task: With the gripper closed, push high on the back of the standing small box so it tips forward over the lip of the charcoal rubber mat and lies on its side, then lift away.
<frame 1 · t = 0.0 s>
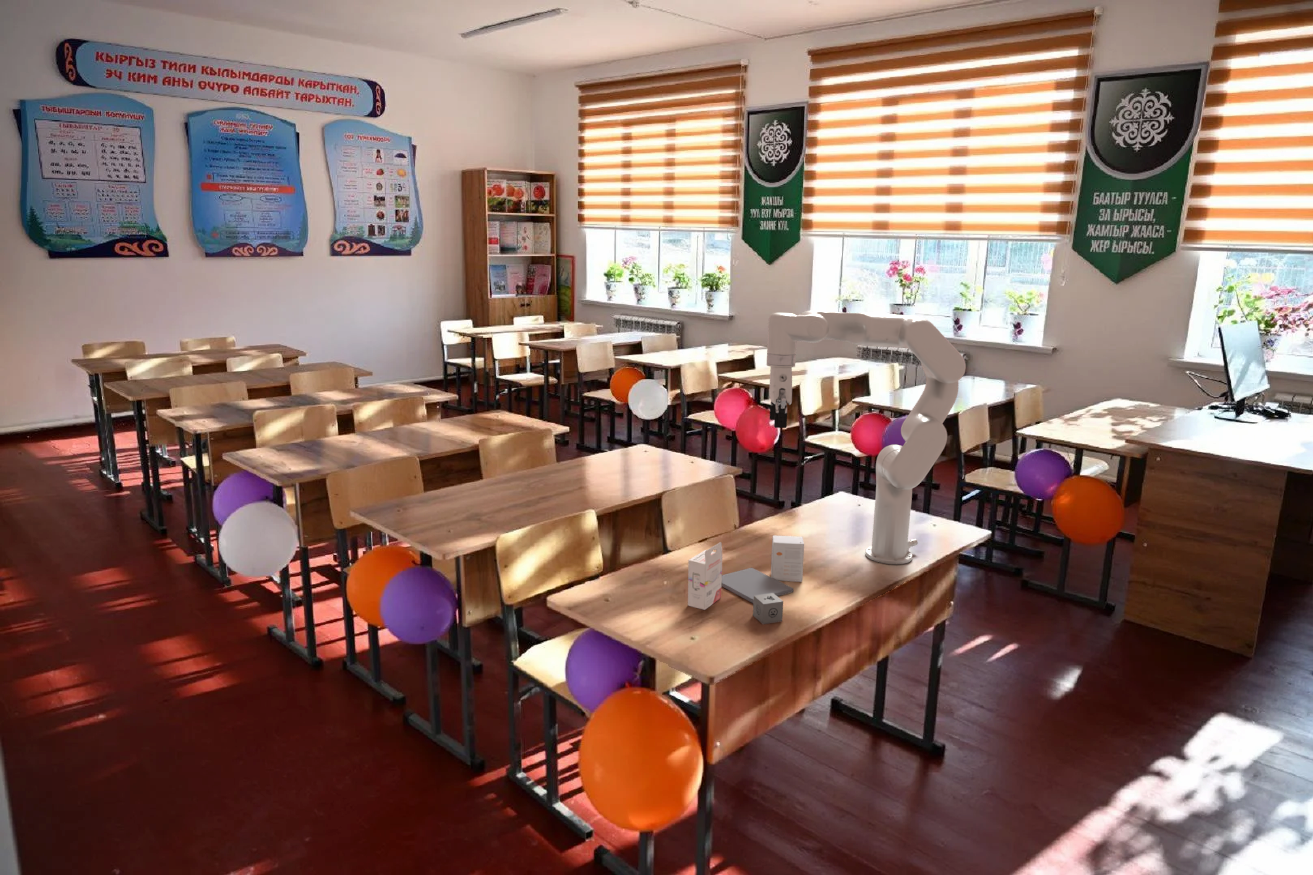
hand: (777, 423, 231), 37 cm above the table, tool pointing down, fingers open, 9 cm apart
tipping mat: (752, 586, 218), on the table
small box: (786, 578, 224), on the table
dice cube: (767, 619, 200), on the table
ink cartridge box: (704, 602, 208), on the table
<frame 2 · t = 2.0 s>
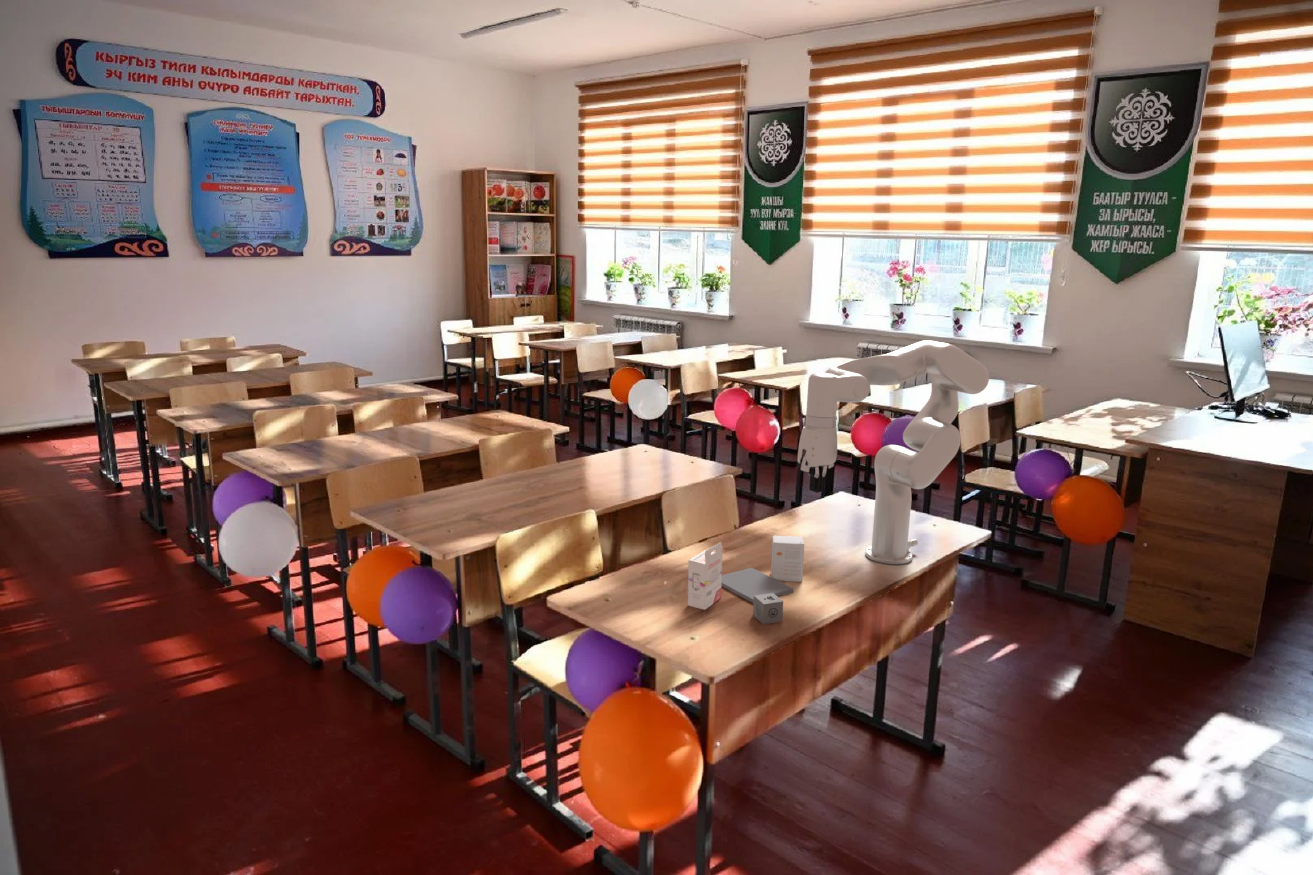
hand: (815, 490, 224), 22 cm above the table, tool pointing down, fingers closed
nothing on the table moved.
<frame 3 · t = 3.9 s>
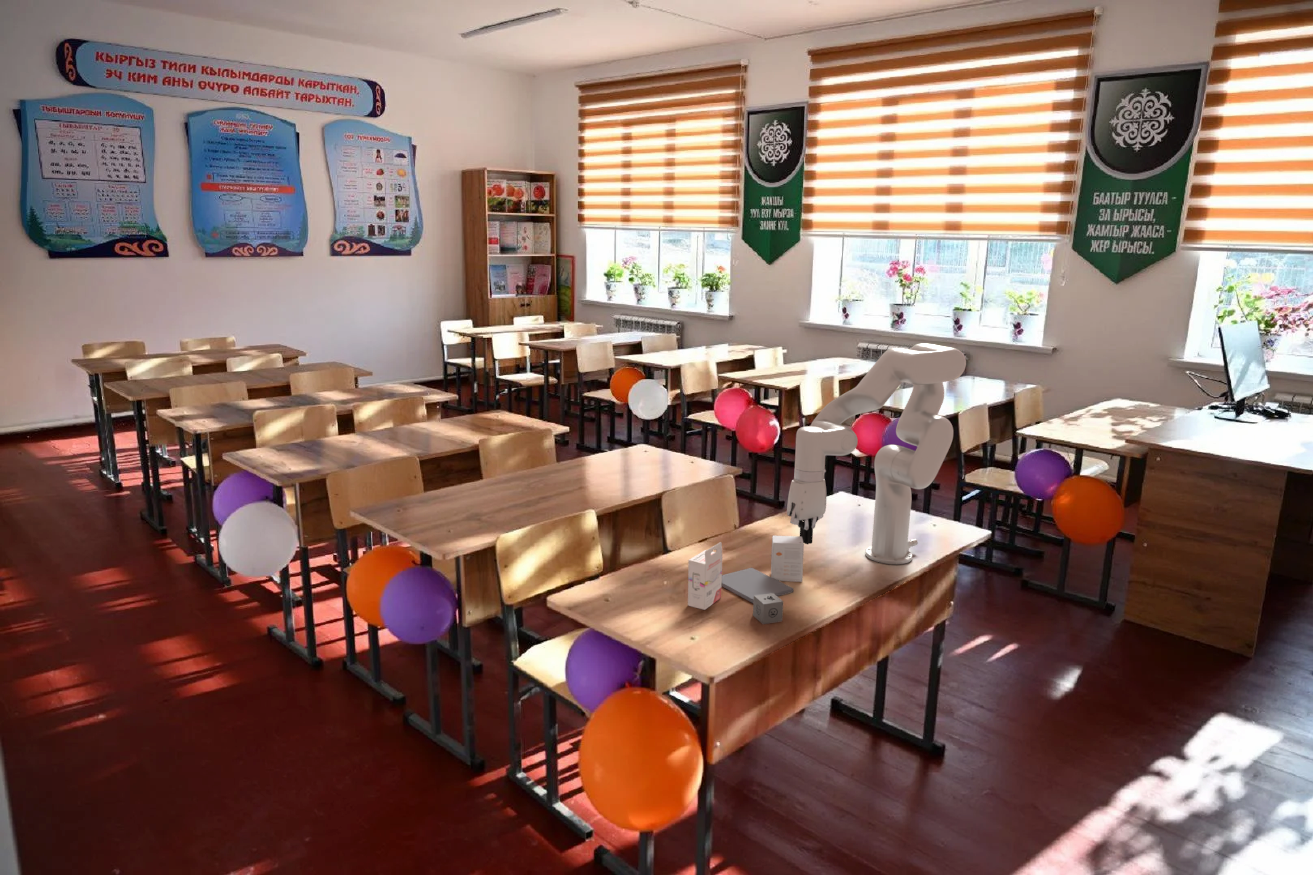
hand: (805, 542, 226), 8 cm above the table, tool pointing down, fingers closed
small box: (786, 578, 224), on the table, touching gripper
everything else where it was.
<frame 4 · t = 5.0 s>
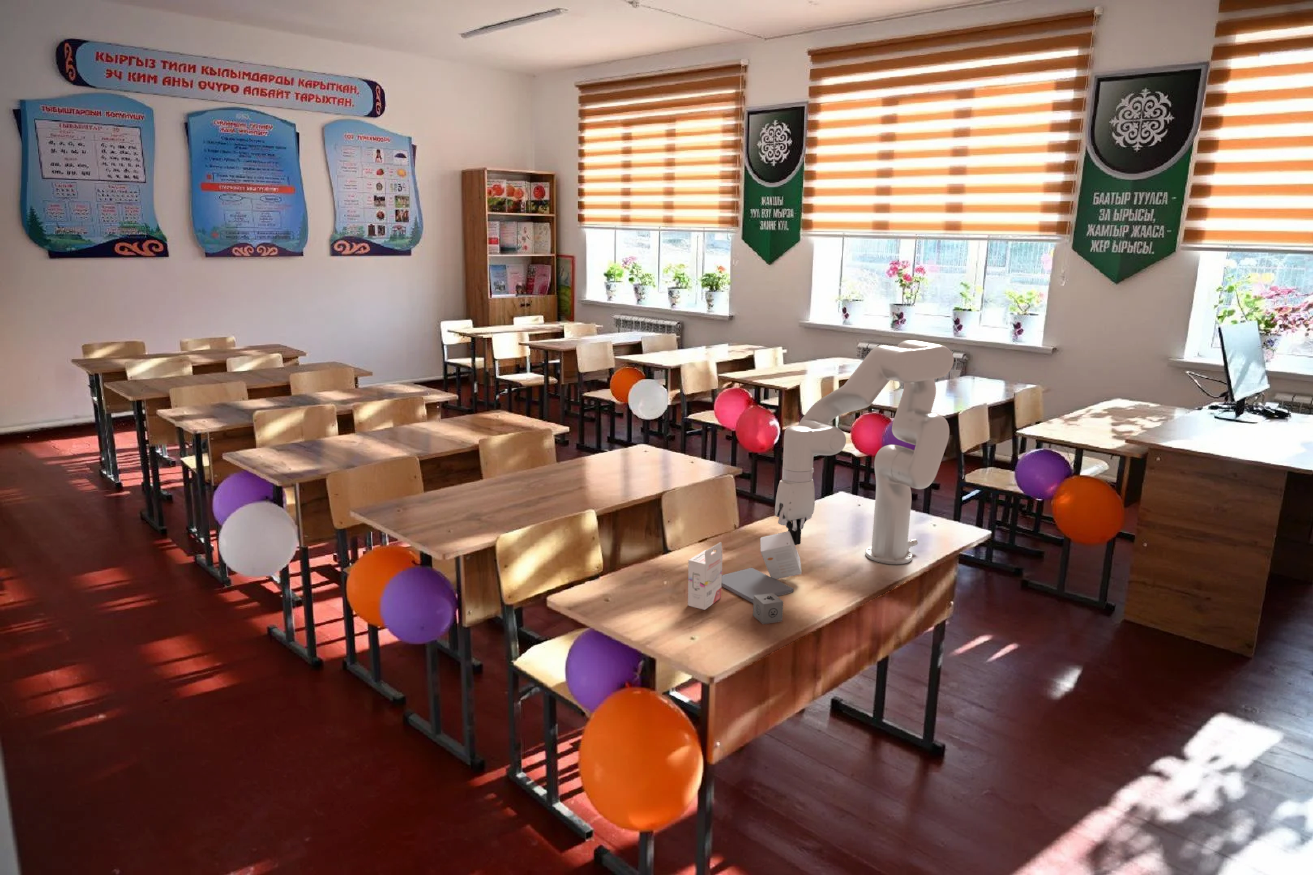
hand: (793, 543, 223), 9 cm above the table, tool pointing down, fingers closed
small box: (786, 570, 223), point 2 cm above the table, touching gripper, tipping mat
everything else where it was.
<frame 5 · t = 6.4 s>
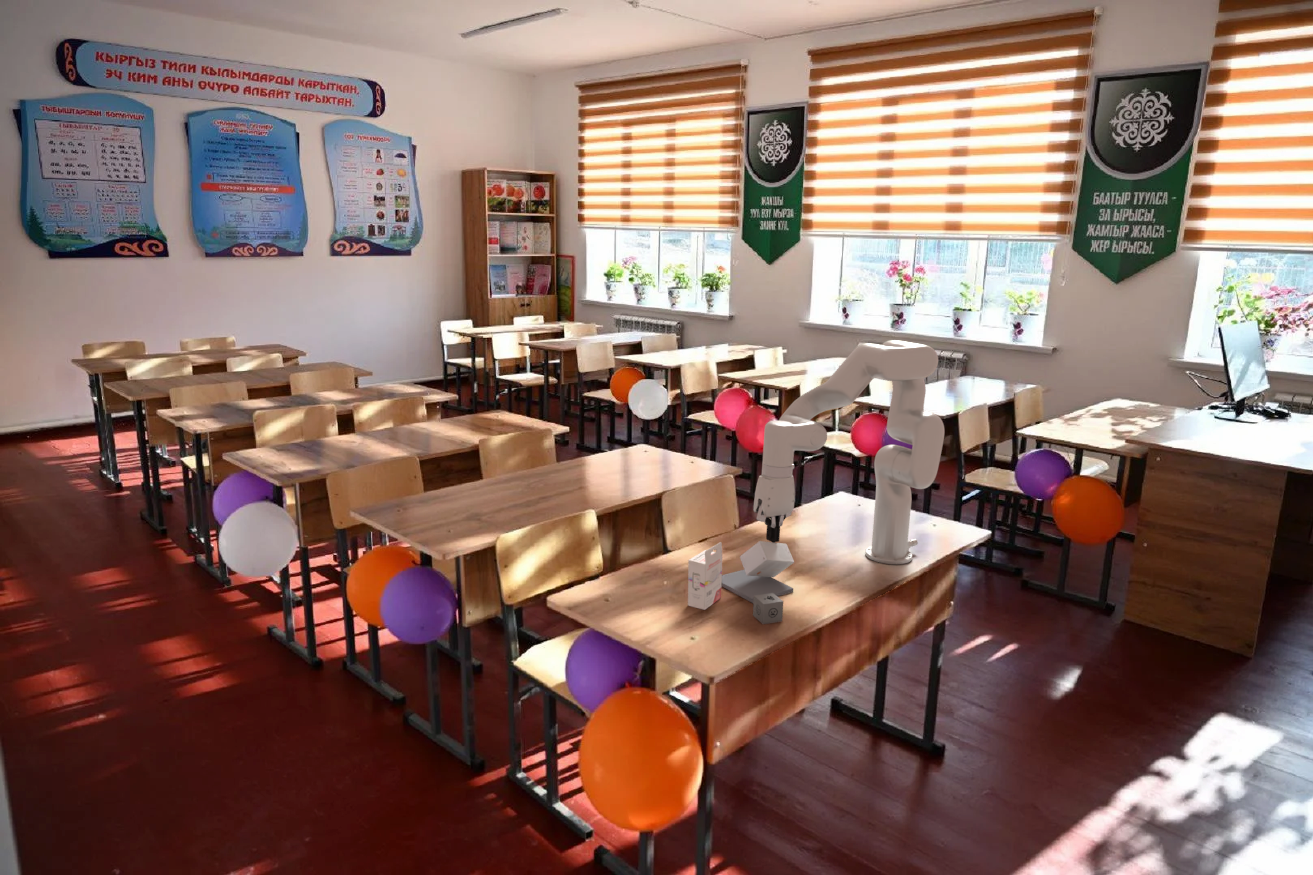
hand: (772, 540, 219), 11 cm above the table, tool pointing down, fingers closed
small box: (781, 560, 222), point 5 cm above the table, touching gripper, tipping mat
everything else where it was.
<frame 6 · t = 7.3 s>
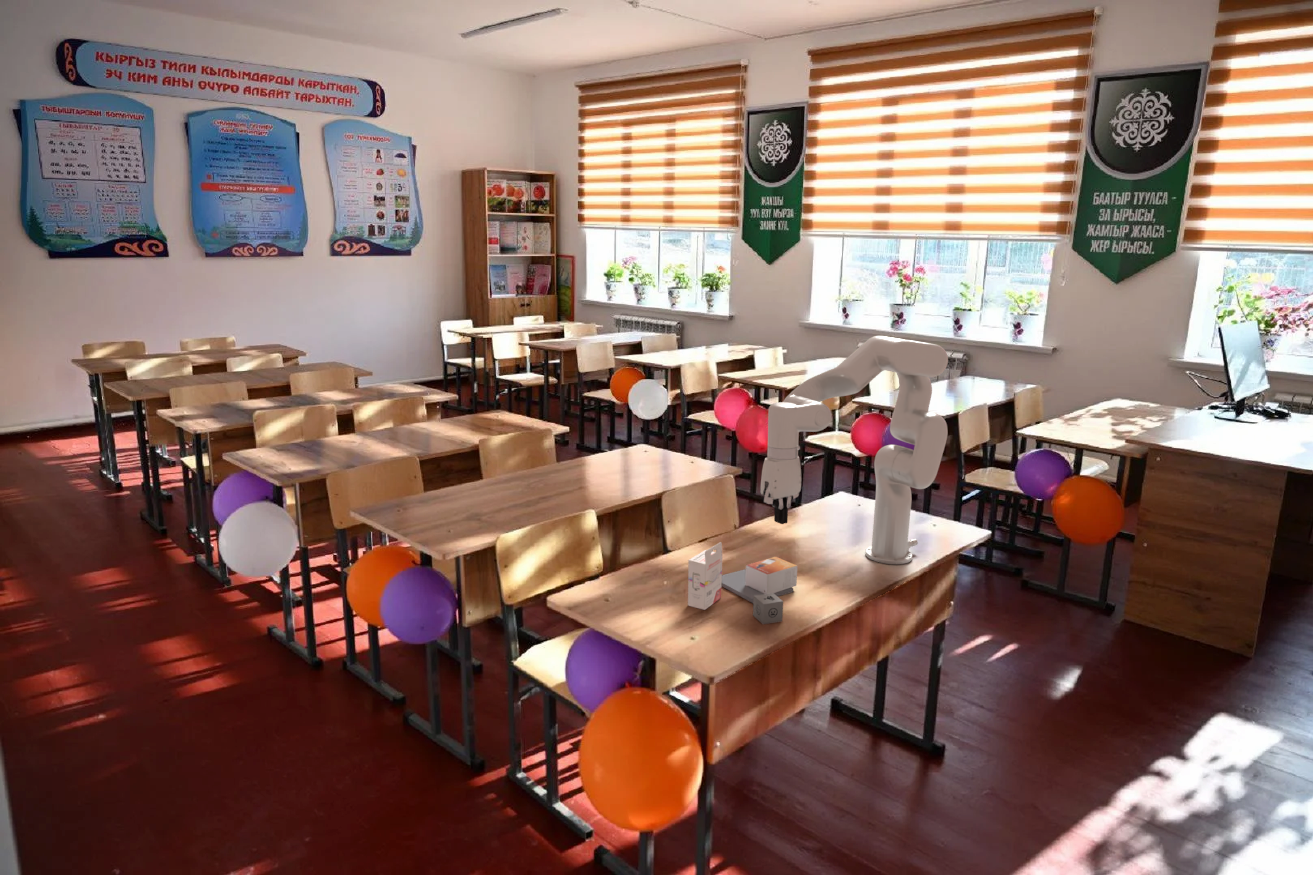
hand: (780, 522, 219), 16 cm above the table, tool pointing down, fingers closed
small box: (786, 570, 219), point 4 cm above the table, touching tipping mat
everything else where it was.
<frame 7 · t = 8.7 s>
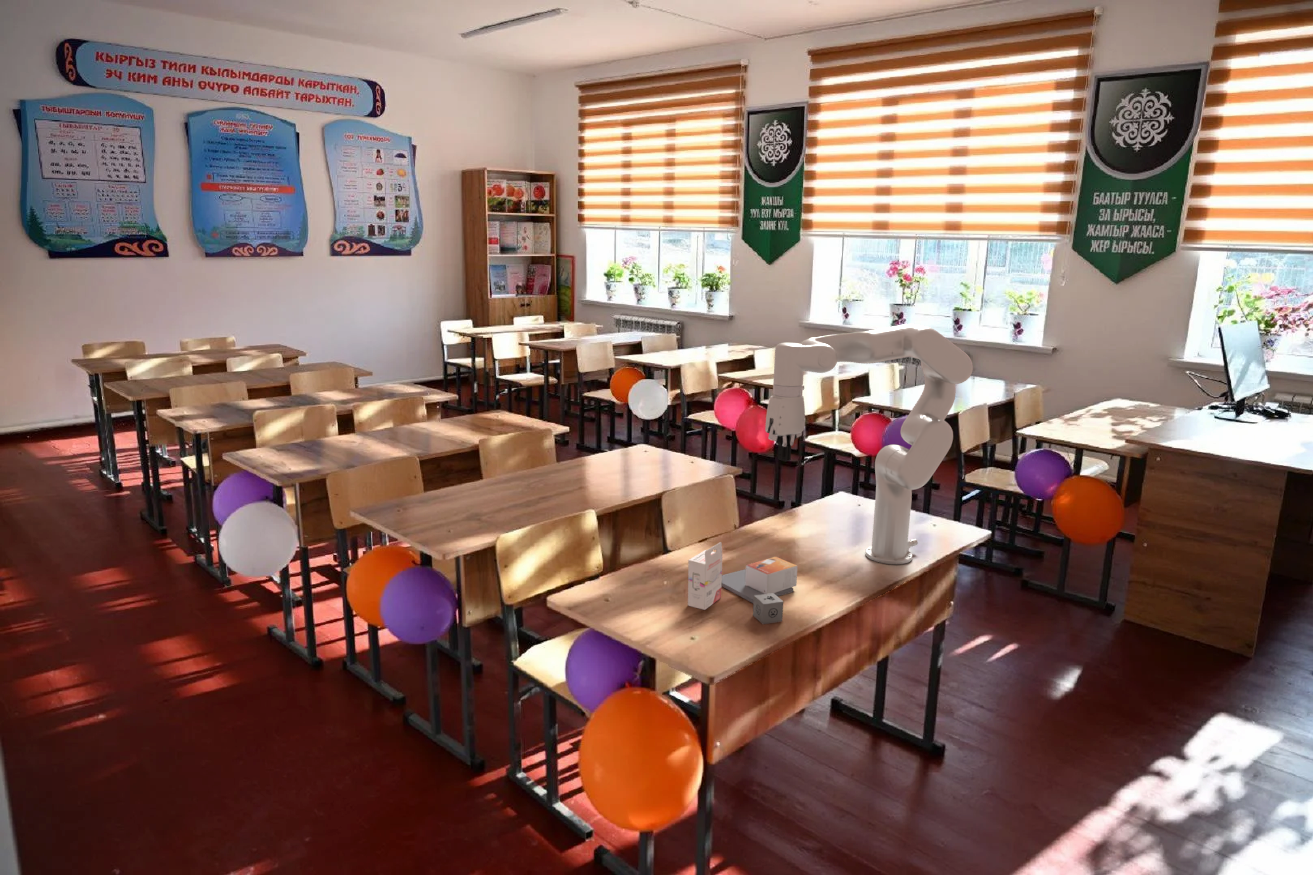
hand: (784, 459, 226), 29 cm above the table, tool pointing down, fingers closed
nothing on the table moved.
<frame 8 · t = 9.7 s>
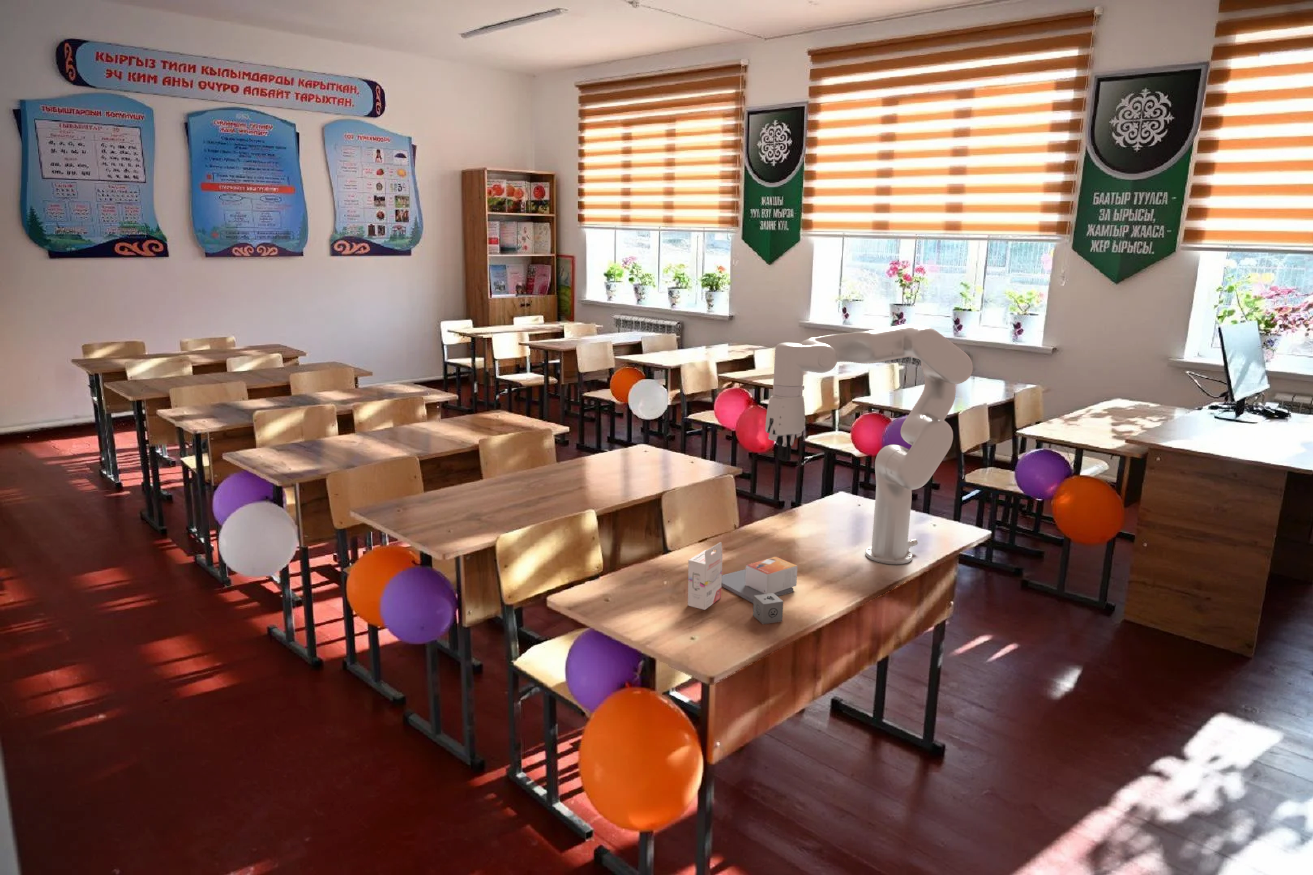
hand: (784, 459, 226), 29 cm above the table, tool pointing down, fingers closed
nothing on the table moved.
at the end: small box tilted 90°; small box inside the target area (7.3 cm from its centre), point 3.7 cm above the table; the gripper is holding nothing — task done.
